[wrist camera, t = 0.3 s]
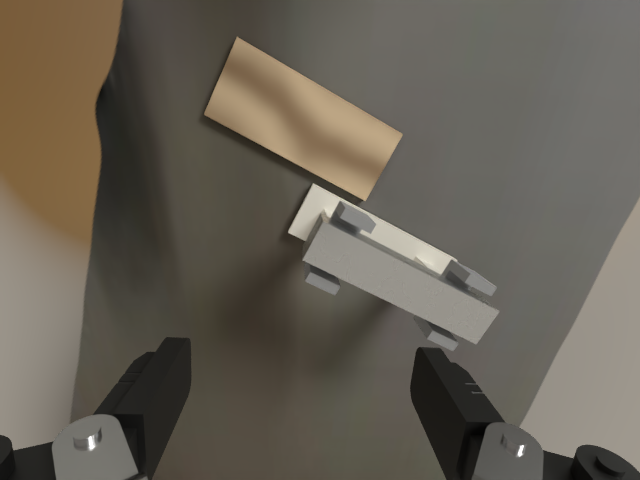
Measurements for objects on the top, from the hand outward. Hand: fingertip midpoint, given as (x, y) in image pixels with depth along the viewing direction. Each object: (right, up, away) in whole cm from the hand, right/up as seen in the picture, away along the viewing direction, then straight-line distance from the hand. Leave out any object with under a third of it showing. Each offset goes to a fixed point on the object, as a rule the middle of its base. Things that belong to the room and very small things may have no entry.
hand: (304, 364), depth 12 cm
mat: (-1, +17, +24) cm, 29 cm away
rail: (+7, +2, +19) cm, 21 cm away
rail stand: (+7, +4, +28) cm, 29 cm away
